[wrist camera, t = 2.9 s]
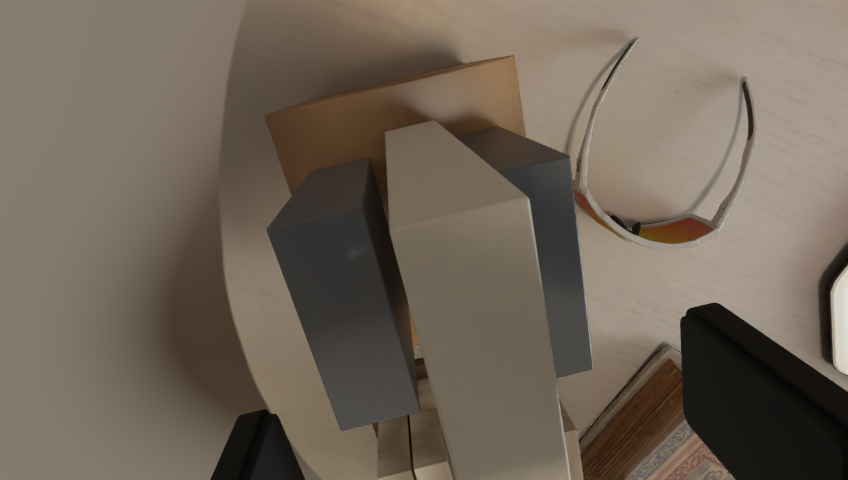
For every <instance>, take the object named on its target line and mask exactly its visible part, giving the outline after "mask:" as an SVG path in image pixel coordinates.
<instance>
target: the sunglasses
mask: <svg viewBox="0 0 848 480" xmlns="http://www.w3.org/2000/svg"><path fill="white" fill-rule="evenodd" d="M639 39H640V37H638V38H636V39H635V40H634V41H633V42H632V43H631V44H630V45H629V46H628V48H627V49H626V50H625V52H624V53H623V54H622V56H621V57H620V59H619V60H618V62H617V63H616V65H615V66H614V68H613V69H612V71H611V73H610V75H609V76H608V78H607V80H606V82H605V83H604V85H603V87H602V89H601V91H600V93H599V96H598V98H597V100H596V102H595V104H594V106H593V109H592V112H591V116H590V119H589V123H588V126H587V130H586V133H585V136H584V139H583V142H582V146H581V149H580V152H579V155H578V158H577V170H576V179H575V180H573V179H572V181H573V190H574V196H575V198H576V199H577V200H578V202H579V203H580V204H581V205H582V207H583V208H584V209H585V210H586V211H587V212H588V213H589V214H590V215H591V216H592V217H593V218H594V219H595V220H596V221H597V222H598V223H600V224H601V225H602V226H604V227H605V228H607V229H608V230H610V231H611V232H613V233H615V234H616V235H617V236H618V237H620V238H622V239H623V240H625V241H629V242H634V243H636V244H639V245H642V246H645V247H648V248H652V249H660V250H680V249H686V248H690V247H694V246H697V245H699V244H700V243H703V242H705V241H707V240H709V239H711V238H712V237H714V236H716V235H717V234H718V232H719V230H720V229H721V228H722V226H723V224H724V223H725V221H726V219H727V217H728V216H729V214H730V212H731V210H732V208H733V206H734V204H735V202H736V200H737V198H738V195H739V193H740V190H741V188H742V185H743V182H744V179H745V176H746V173H747V170H748V167H749V164H750V160H751V157H752V153H753V149H754V146H755V142H756V135H757V122H756V110H755V105H754V99H753V95H752V91H751V88H750V84H749V81H748V78H747V77H746V76H745V77H744V78H743V79H742V82H741V84H742V88H743V92H744V97H745V102H746V106H747V114H748V137H747V142H746V146H745V149H744V152H743V156H742V163H741V167H740V172H739V175H738V178H737V180H736V182H735V184H734V187H733V189H732V190H731V192H730V193H729V195H728V196H727V197H726V198H725V200H724V201H723V202H722V203H721V205H720V207H719V209H718V211H717V214H715V216H714V217H713V219H712V220H711V221H709V220H707V219H704V218H702V217H699V216H697V215H694V214H687V215H684V216H682V217H678V218H675V219H672V220H668V221H664V222H660V223H654V224H647V225H641V223H640V222H637V223H635V224H634V226H633V227H632V231H631V230H628V229H627V227H626V226H625V225H624V224H623V222H622V221H621V220H620V219H619V218H618V217H616V216H615V215H612V216H610V217H609V216H608V215H607V214H606V213H604V212H603V211H602V210H601V209H600V207H599V206H598V205H597V203H596V202H595V200H594V199H593V197H592V195H591V193H590V191H589V190H588V188H587V176H586V175H587V164H588V153H589V145H590V139H591V134H592V129H593V125H594V122H595V119H596V116H597V113H598V110H599V107H600V105H601V103H602V101H603V99H604V97H605V95H606V93H607V90H608V88H609V86H610V85H611V83H612V81H613V79H614V77H615V76H616V74H617V72H618V70H619V69H620V67H621V65H622V64H623V62H624V61H625V59H626V58H627V56H628V55H629V54H630V52H631V51H632V50H633V48H634V47H635V45H636V44H637V43H638V41H639Z"/></svg>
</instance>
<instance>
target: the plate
mask: <svg viewBox="0 0 848 480" xmlns="http://www.w3.org/2000/svg"><path fill="white" fill-rule="evenodd" d="M829 314H830V339H831V363H832V364H833V366H834V367H835V369H836V370H838V371H839V372H842V373H844V374H846V375H848V261H847V263H846V264H845V265H844V266H843V268H842V269H841V270H840V271H839V273H838V274H837V275H836V277H835V278H834V279H833V281H832V283H831V286H830V289H829Z"/></svg>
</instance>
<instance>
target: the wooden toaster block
mask: <svg viewBox="0 0 848 480" xmlns="http://www.w3.org/2000/svg"><path fill="white" fill-rule="evenodd" d="M265 119H266V122H267V125H268V128H269V131H270V134H271V137H272V140H273V143H274V145H275V148H276V151H277V154H278V157H279V160H280V163H281V166H282V169H283V172H284V175H285V178H286V181H287V184H288V187H289V190H290V193H291V196H292V195H293V194H294V193H295V191H296V190H297V189H298V187H299V186H300V185H301V183H302V182H303V181H304V179H305V178H306V177H307V176H308V174H309V173H310V172H311V171H315V170H319V169H323V168H327V167H331V166H335V165H339V164H343V163H348V162H352V161H356V160H360V159H364V158H370V160H371V164H372V168H373V171H374V175H375V179H376V183H377V186H378V190H379V194H380V197H381V201H382V205H383V209H384V212H385V216H386V220H387V224H388V227H389V231H390V226H389V206H388V185H387V165H386V144H385V132H387V131H391V130H395V129H399V128H403V127H407V126H411V125H415V124H420V123H424V122H428V121H432V120H435V121H436V122H437V123H439V124H440V125H441V126H442V127H444V128H445V129H446V130H447V131H448V132H450V133H451V134H452V135H453V136H459V135H463V134H467V133H471V132H476V131H480V130H484V129H488V128H492V127H496V126H500V127H502V128H504V129H507V130H509V131H511V132H514V133H516V134H519V135H521V136H523V137H526V133H525V126H524V120H523V113H522V106H521V99H520V92H519V85H518V78H517V71H516V64H515V57H514V56H513V55H511V56H506V57H500V58H494V59H488V60H482V61H476V62H470V63H464V64H459V65H455V66H451V67H447V68H443V69H439V70H434V71H430V72H426V73H422V74H418V75H414V76H410V77H406V78H401V79H397V80H393V81H389V82H385V83H381V84H377V85H372V86H368V87H364V88H360V89H356V90H352V91H348V92H343V93H339V94H335V95H331V96H327V97H323V98H319V99H315V100H310V101H307V102H304V103H301V104H298V105H295V106H292V107H289V108H286V109H283V110H280V111H277V112H273V113H270V114H267V115H265ZM408 306H409V303H408ZM409 315H410V323H411V332H412V341H413V346H414V345H418V344H419V340H418V336H417V333H416V329H415V325H414V321H413V318H412V314H411V310H410V307H409Z"/></svg>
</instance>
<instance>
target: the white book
mask: <svg viewBox="0 0 848 480" xmlns="http://www.w3.org/2000/svg"><path fill="white" fill-rule="evenodd" d="M385 144H386V165H387V185H388V206H389V226H390V236H391V240H392V243H393V247H394V251H395V254H396V258H397V262H398V266H399V269H400V273H401V277H402V281H403V284H404V288H405V292H406V295H407V299H408V303H409V307H410V310H411V314H412V318H413V321H414V325H415V329H416V333H417V336H418V340H419V344H420V348H421V351H422V355H423V359H424V362H425V366H426V370H427V374H428V377H429V381H430V385H431V389H432V392H433V396H434V400H435V403H436V407H437V411H438V415H439V418H440V422H441V426H442V429H443V433H444V437H445V441H446V444H447V448H448V452H449V456H450V459H451V463H452V467H453V470H454V474H455V478H456V480H571V476H570V469H569V462H568V456H567V449H566V442H565V435H564V429H563V422H562V415H561V409H560V402H559V395H558V388H557V382H556V375H555V368H554V361H553V355H552V348H551V341H550V335H549V328H548V321H547V314H546V308H545V301H544V294H543V287H542V281H541V274H540V267H539V261H538V254H537V247H536V240H535V234H534V227H533V220H532V213H531V207H530V200H529V198H528V196H526V195H525V194H524V193H523V192H521V191H520V190H519V189H518V188H517V187H515V186H514V185H513V184H512V183H510V182H509V181H508V180H507V179H506V178H504V177H503V176H502V175H501V174H500V173H498V172H497V171H496V170H495V169H493V168H492V167H491V166H490V165H489V164H487V163H486V162H485V161H484V160H483V159H481V158H480V157H479V156H478V155H476V154H475V153H474V152H473V151H472V150H470V149H469V148H468V147H467V146H465V145H464V144H463V143H462V142H461V141H459V140H458V139H457V138H456V137H455V136H453V135H452V134H451V133H450V132H448V131H447V130H446V129H445V128H444V127H442V126H441V125H440V124H439V123H437V122H436V121H435V120H432V121H428V122H424V123H420V124H415V125H411V126H407V127H403V128H399V129H395V130H391V131H387V132H385Z"/></svg>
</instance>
